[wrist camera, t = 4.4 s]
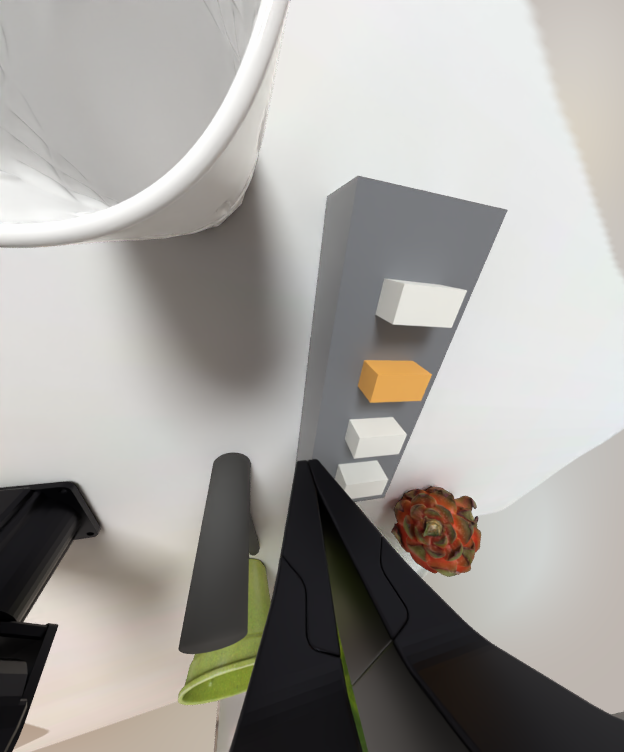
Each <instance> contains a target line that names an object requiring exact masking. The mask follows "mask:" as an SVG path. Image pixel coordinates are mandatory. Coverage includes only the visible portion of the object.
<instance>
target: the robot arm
mask: <svg viewBox="0 0 624 752" xmlns="http://www.w3.org/2000/svg"><path fill="white" fill-rule="evenodd" d="M100 529H101V528H100V526H99V524H98V523H97V521H96V519H95V518H94V516H93V514H92V513H91V511H90V509H89V508H88V506H87V504H86V502H85V501H84V499H83V497H82V496H81V494H80V492H79V491H78V489H77V487H76V486H75V485H74V484H73V483H71V482H58V483H47V484H37V485H27V486H16V487H6V488H0V752H12V751H13V749H14V746H15V744H16V742H17V740H18V738H19V736H20V733H21V731H22V728H23V726H24V723H25V720H26V717H27V715H28V712H29V709H30V706H31V703H32V700H33V697H34V694H35V692H36V689H37V686H38V683H39V680H40V677H41V674H42V671H43V668H44V666H45V663H46V660H47V657H48V654H49V651H50V648H51V645H52V642H53V640H54V637H55V634H56V631H57V628H58V624H50V623H48V624H46V625H40V624H32V623H25V622H24V620H25V618H26V617H27V615H28V614H29V612H30V610H31V609H32V607H33V605H34V604H35V602H36V601H37V599H38V597H39V596H40V594H41V592H42V591H43V589H44V587H45V586H46V584H47V583H48V581H49V579H50V578H51V576H52V574H53V573H54V571H55V570H56V568H57V566H58V565H59V563H60V561H61V560H62V558H63V557H64V555H65V553H66V552H67V550H68V548H69V547H70V545H71V543H72V542H73V540H76V539H83V538H90V537H95V536H97V535H98V533H99V531H100ZM336 624H337V625H336ZM337 628H338V632H339V636H340V640H341V644H342V648H343V652H344V656H345V660H346V664H347V668H348V672H349V676H350V680H351V684H352V685H353V686H352V688H353V692H354V696H355V700H356V704H357V708H358V712H359V716H360V720H361V724H362V728H363V732H364V736H365V740H366V744H367V748H368V752H624V712H621V713H616V714H609V713H607V712H605V711H603V710H601V709H599V708H598V707H596V706H594V705H592V704H590V703H589V702H587V701H586V700H584V699H582V698H581V697H579V696H577V695H576V694H574V693H573V692H571V691H569V690H568V689H566V688H564V687H563V686H561V685H559V684H558V683H556V682H554V681H553V680H551V679H550V678H548V677H546V676H544V675H543V674H541V673H540V672H538V671H536V670H535V669H533V668H531V667H530V666H528V665H526V664H525V663H523V662H522V661H520V660H518V659H517V658H515V657H513V656H512V655H510V654H508V653H507V652H505V651H503V650H502V649H500V648H498V647H497V646H495V645H494V644H492V643H491V642H489V641H488V640H487V639H485V638H484V637H483V636H481V635H480V634H479V633H478V632H476V631H475V630H473V628H472V627H470V626H469V625H468V624H467V623H466V622H465V621H464V620H463V619H462V618H461V617H460V616H459V615H458V614H457V613H456V612H455V611H454V610H453V609H452V608H451V607H450V606H449V605H448V604H447V603H446V602H445V601H444V600H443V599H442V598H441V597H440V596H439V595H438V594H437V593H436V592H435V591H434V590H433V589H432V588H431V587H430V586H429V585H428V584H426V582H425V581H424V580H423V579H422V578H421V577H420V576H419V575H418V574H417V573H416V572H415V571H414V570H413V569H412V568H411V567H410V566H409V565H408V564H407V563H406V562H405V561H404V560H403V558H402V557H401V556H400V555H399V554H398V553H397V552H396V551H395V549H394V548H393V547H392V546H391V545H390V544H389V542H388V541H387V540H386V539H385V538H384V537H383V536H382V535H381V533H380V532H379V531H378V530H377V528H376V527H375V526H374V525H373V524H372V523H371V521H370V520H369V519H368V518H367V517H366V515H365V514H364V513H363V512H362V511H361V510H360V508H359V507H358V506H357V505H356V504H355V502H354V501H353V500H352V499H351V498H350V497H349V495H348V494H347V493H346V492H345V491H344V490H343V488H342V487H341V486H340V485H339V484H338V482H337V481H336V480H335V479H334V478H333V477H332V475H331V474H330V473H329V472H328V471H327V470H326V468H325V467H324V466H323V465H322V464H321V462H320V461H319V460H318V459H309V460H298V461H297V462H296V467H295V473H294V479H293V485H292V490H291V496H290V502H289V508H288V514H287V520H286V526H285V531H284V537H283V543H282V549H281V556H280V560H279V566H278V572H277V577H276V582H275V587H274V592H273V596H272V600H271V604H270V608H269V612H268V616H267V620H266V623H265V627H264V630H263V634H262V638H261V641H260V645H259V648H258V652H257V656H256V659H255V663H254V666H253V670H252V673H251V677H250V681H249V684H248V688H247V691H246V695H245V698H244V702H243V705H242V709H241V712H240V716H239V719H238V722H237V726H236V729H235V733H234V736H233V739H232V742H231V746H230V749H229V752H363V751H362V747H361V743H360V739H359V736H358V732H357V728H356V724H355V721H354V717H353V713H352V709H351V705H350V702H349V697H348V693H347V688H346V683H345V677H344V672H343V666H342V660H341V658H340V657H341V652H340V645H339V639H338V632H337Z"/></svg>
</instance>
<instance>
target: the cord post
mask: <svg viewBox="0 0 624 752" xmlns="http://www.w3.org/2000/svg"><path fill="white" fill-rule="evenodd" d="M250 467H251V463H250V460H249V458H248V457H246V456H245V455H243V454H240V453H227V454H224V455H221V456H220V457H218V458H217V459H216V460H215V461H214V463H213V468H212V473H211V479H210V484H209V489H208V495H207V500H206V505H205V511H204V516H203V521H202V526H201V532H200V537H199V542H198V548H197V553H196V558H195V564H194V569H193V574H192V580H191V585H190V590H189V596H188V601H187V606H186V612H185V617H184V622H183V628H182V633H181V638H180V644H179V651H180V652H182V653H186V654H200V653H206V652H211V651H215V650H219V649H222V648H225V647H228V646H230V645H232V644H235V643H237V642H238V641H240V640H241V639H243V638H244V637H245V636H246V635H247V633H248V584H249V525H250Z"/></svg>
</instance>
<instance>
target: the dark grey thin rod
mask: <svg viewBox="0 0 624 752" xmlns="http://www.w3.org/2000/svg"><path fill="white" fill-rule="evenodd" d="M259 548H260V547H259V543H258V539H257V536H256V532H255V529H254V525H253V522H252V518H251V515H250V525H249V553H250V554H251V555H256V554H257V553H258V552H259Z"/></svg>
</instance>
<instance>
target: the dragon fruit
mask: <svg viewBox="0 0 624 752" xmlns="http://www.w3.org/2000/svg"><path fill="white" fill-rule="evenodd" d="M472 507H474V509H476V508H477V507H476V503H475V502H474V500H473V499H472V498H470V497H468V496H462V497H461V498H458V499H454V496H453V495H452V494H451V493H449V492H448V491H446V490H444V489H443V488H440V487H429V488H428V489H427V490H426V491H424V490H421V489H417V490H412V491H411V492H407V493H405V494H404V495H403V499H402V500H400V501H399V502H398V503H397V504H396V506H395V509H394V511H395V516H396V519H397V522H398V523H397V524H396V523H395V525H394V528H393V529H392V533H393V534H394V535H395V537H396V538H397V540H398V541H399V543H400V544H401V546H402V547H403V549H404V550H405V551H406V552H410V554H411V556H412V558H413V559H414V561H415V562H416V563H417V564H419V565H420V566H422V567H423V568H425V569H426V570H428V571H430V572H432V573H437V572H439V573H441V574H443V575H445V576H447V577H448V576H449V577H450V576H455V575H457V574H458V575H459V574H460V573H465V572H468V571H470V569H471V563H472V561H473V559H474V555H475V552H477V550H478V549H479V548H480V540H481V532H480V531H479V530H478V529H477V522H478V516H476V517H475V519H474V518H473V516H472V513H471V511H472Z"/></svg>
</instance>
